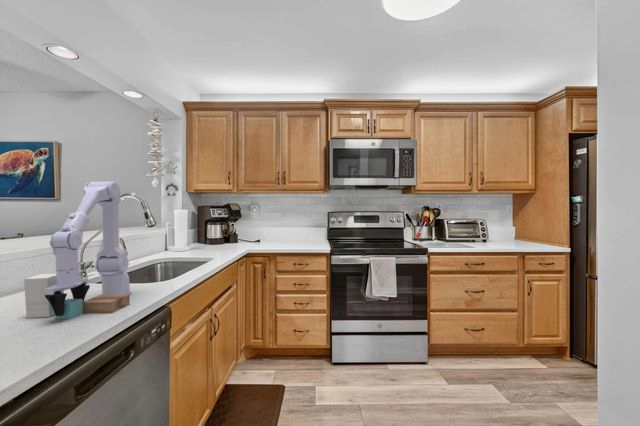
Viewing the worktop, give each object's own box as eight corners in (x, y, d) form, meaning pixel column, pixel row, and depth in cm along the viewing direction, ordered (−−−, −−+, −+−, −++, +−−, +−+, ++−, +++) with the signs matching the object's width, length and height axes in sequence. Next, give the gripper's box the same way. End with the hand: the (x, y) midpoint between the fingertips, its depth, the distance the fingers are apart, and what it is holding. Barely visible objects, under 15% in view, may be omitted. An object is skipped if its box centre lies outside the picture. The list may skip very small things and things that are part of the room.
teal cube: (68, 314, 113) (68, 298, 113) (83, 314, 112) (82, 298, 112) (55, 319, 108) (54, 303, 108) (70, 319, 107) (69, 303, 107)
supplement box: (65, 310, 117) (64, 272, 116) (49, 317, 109) (47, 277, 109) (43, 311, 117) (41, 273, 116) (25, 318, 109) (23, 278, 109)
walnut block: (102, 305, 123) (101, 294, 123) (129, 305, 122) (129, 294, 122) (81, 314, 113) (81, 302, 113) (111, 314, 112) (111, 302, 112)
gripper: (59, 273, 102) (61, 319, 102) (96, 264, 116) (97, 305, 117) (37, 273, 103) (39, 319, 103) (76, 265, 117) (78, 305, 118)
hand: (69, 311), depth 110 cm, fingers open, 7 cm apart
